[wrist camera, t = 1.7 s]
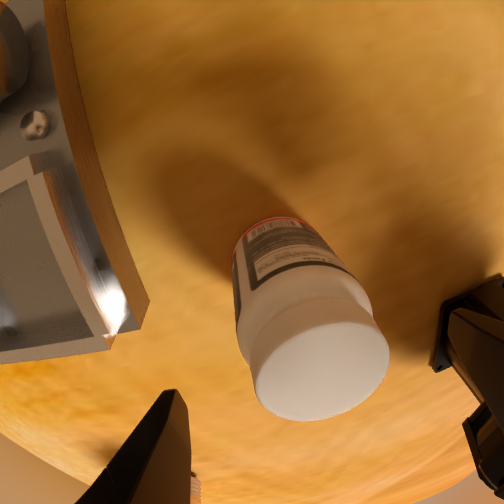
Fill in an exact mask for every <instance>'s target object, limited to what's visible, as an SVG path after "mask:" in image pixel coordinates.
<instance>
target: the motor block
mask: <svg viewBox="0 0 504 504" xmlns="http://www.w3.org/2000/svg"><path fill="white" fill-rule="evenodd" d="M149 303H150V301H149V298H148V296H147V294H146V291H145V289H144V286H143V284H142V282H141V279H140V277H139V274H138V272H137V269H136V267H135V264H134V262H133V259H132V257H131V254H130V252H129V249H128V246H127V244H126V241H125V238H124V236H123V233H122V230H121V227H120V225H119V222H118V219H117V216H116V213H115V210H114V208H113V205H112V202H111V199H110V196H109V193H108V190H107V186H106V183H105V180H104V177H103V174H102V170H101V167H100V164H99V161H98V157H97V154H96V150H95V147H94V143H93V139H92V136H91V132H90V128H89V125H88V121H87V117H86V113H85V109H84V104H83V100H82V96H81V92H80V87H79V82H78V78H77V73H76V68H75V63H74V58H73V52H72V47H71V41H70V35H69V28H68V22H67V14H66V7H65V0H9V1H8V2H6V3H5V4H4V3H3V2H1V1H0V364H9V363H19V362H28V361H36V360H44V359H52V358H59V357H66V356H73V355H80V354H87V353H93V352H99V351H106V350H110V349H111V346H112V344H113V342H114V339H115V337H116V334H119V333H124V332H129V331H134V330H139V329H141V326H142V323H143V320H144V317H145V314H146V311H147V308H148V305H149Z"/></svg>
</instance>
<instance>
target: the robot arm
mask: <svg viewBox="0 0 504 504" xmlns="http://www.w3.org/2000/svg"><path fill="white" fill-rule="evenodd" d="M451 366H452V367H453V368H454V369H455V371H456V372H457V373H458V375H459V376H460V377H461V379H462V380H463V381H464V382H465V384H466V385H467V386H468V388H469V389H470V390H471V392H472V393H473V394H474V396H475V397H476V398H477V400H478V401H479V403H480V406H479V407H478V408H477V409H476V410H475V411H474V413H473V414H472V415H471V416H470V417H468V418H467V419H466V420H465V421H464V422H463V423H462V426H463V429H464V432H465V435H466V438H467V441H468V444H469V447H470V450H471V453H472V456H473V459H474V462H475V466H476V469H477V472H478V476H479V478H480V479H481V480H483V482H484V483H485V484H486V485H487V486H488V487H489V488H491V489H492V490H494V494H495V495H496V496H497V497H499V498H501V499H503V500H504V277H500V278H498V279H496V280H494V281H491V282H489V283H487V284H485V285H482V286H480V287H478V288H476V289H473V290H471V291H469V292H466V293H464V294H461V295H459V296H457V297H454V298H452V299H449V300H447V301H445V302H444V303H443V304H442V306H441V309H440V318H439V326H438V334H437V341H436V347H435V353H434V359H433V365H432V369H433V370H434V372H435V373H438V372H440V371H442V370H445V369H447V368H449V367H451ZM190 496H191V441H190V430H189V418H188V409H187V406H186V404H185V402H184V400H183V399H182V397H181V395H180V393H179V392H178V390H177V389H168V390H164V391H163V392H162V393H161V394H160V396H159V397H158V398H157V400H156V401H155V402H154V404H153V405H152V406H151V408H150V409H149V410H148V412H147V413H146V414H145V416H144V417H143V418H142V420H141V421H140V422H139V424H138V425H137V426H136V428H135V429H134V430H133V432H132V433H131V434H130V436H129V437H128V438H127V440H126V441H125V442H124V444H123V445H122V446H121V448H120V449H119V450H118V452H117V453H116V454H115V456H114V457H113V458H112V460H111V461H110V462H109V464H108V465H107V468H105V469H104V470H103V471H102V473H101V474H100V475H99V476H98V478H97V479H96V480H95V481H94V483H93V484H92V485H91V486H90V488H89V489H88V490H87V491H86V492H85V493H84V494H83V495H82V496H81V497H80V499H78V500H77V502H76V503H75V504H190Z"/></svg>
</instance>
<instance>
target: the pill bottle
mask: <svg viewBox="0 0 504 504" xmlns="http://www.w3.org/2000/svg"><path fill="white" fill-rule="evenodd" d="M231 267H232V281H233V294H234V307H235V320H236V333H237V340H238V344H239V348H240V351H241V353H242V355H243V357H244V359H245V360H246V362H247V363H248V364H249V365H250V370H251V373H252V378H253V383H254V389H255V393H256V396H257V398H258V400H259V402H260V403H261V404H262V406H263V407H264V408H265V409H267V410H268V411H269V412H271V413H272V414H274V415H276V416H278V417H281V418H284V419H289V420H294V421H315V420H321V419H326V418H330V417H333V416H336V415H339V414H341V413H344V412H346V411H348V410H350V409H352V408H353V407H355V406H357V405H358V404H360V403H361V402H363V401H364V400H365V399H366V398H367V397H369V396H370V395H371V394H372V393H373V392H374V391H375V389H376V388H377V387H378V386H379V385H380V383H381V382H382V380H383V378H384V376H385V374H386V372H387V369H388V366H389V360H390V351H389V346H388V343H387V341H386V339H385V337H384V336H383V334H382V332H381V331H380V329H379V328H378V326H377V324H376V322H375V320H374V318H373V313H372V307H371V303H370V301H369V298H368V296H367V294H366V292H365V291H364V289H363V288H362V286H361V285H360V283H359V282H358V280H357V279H356V278H355V277H354V276H353V275H352V273H351V272H350V271H349V270H348V268H347V267H346V266H345V265H344V263H343V262H342V261H341V260H340V259H339V258H338V257H337V255H336V254H335V253H334V252H333V250H332V249H331V248H330V246H329V245H328V244H327V243H326V242H325V241H324V240H323V238H322V237H321V236H320V235H319V233H318V232H316V231H315V230H314V229H313V228H312V227H311V226H310V225H308V224H307V223H305V222H303V221H301V220H298V219H295V218H291V217H273V218H268V219H265V220H262V221H260V222H258V223H256V224H255V225H253V226H252V227H251V228H249V229H248V230H247V231H246V232H245V233H244V234H243V235H242V236H241V238H240V239H239V241H238V242H237V244H236V246H235V249H234V252H233V255H232V266H231Z"/></svg>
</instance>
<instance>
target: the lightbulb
mask: <svg viewBox="0 0 504 504" xmlns="http://www.w3.org/2000/svg"><path fill="white" fill-rule="evenodd" d="M200 486H201V482H200V480H198V479H197V478H195V477H193V476H191V496H190V504H201V499H200V497H201V495H200V494H201V492H200V490H201V488H200Z"/></svg>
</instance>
